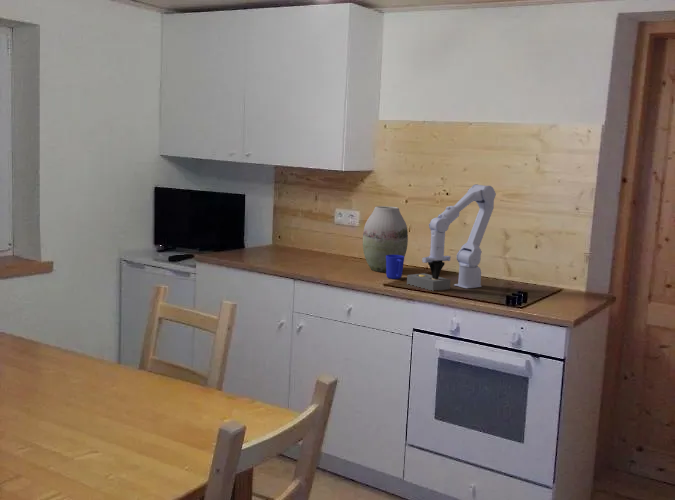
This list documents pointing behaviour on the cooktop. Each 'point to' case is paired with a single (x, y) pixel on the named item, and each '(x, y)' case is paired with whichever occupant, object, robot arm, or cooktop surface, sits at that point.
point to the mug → (394, 266)
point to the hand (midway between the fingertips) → (435, 278)
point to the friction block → (428, 282)
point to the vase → (384, 236)
